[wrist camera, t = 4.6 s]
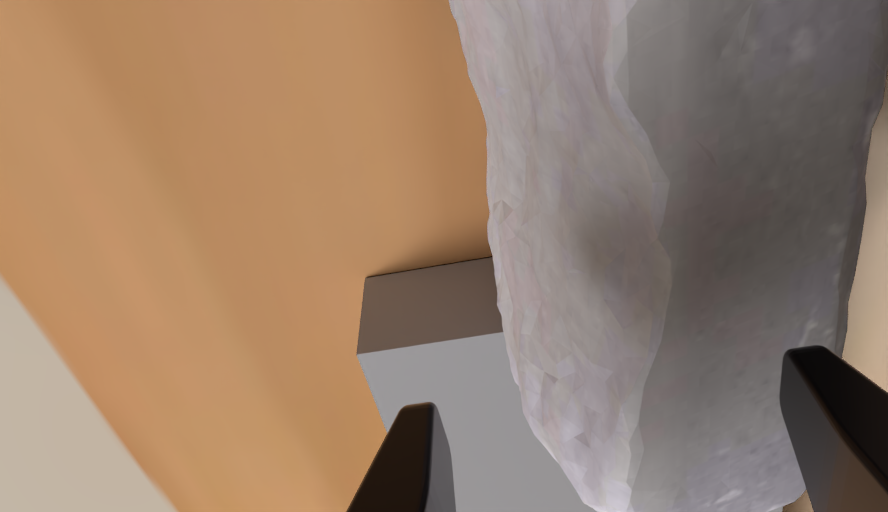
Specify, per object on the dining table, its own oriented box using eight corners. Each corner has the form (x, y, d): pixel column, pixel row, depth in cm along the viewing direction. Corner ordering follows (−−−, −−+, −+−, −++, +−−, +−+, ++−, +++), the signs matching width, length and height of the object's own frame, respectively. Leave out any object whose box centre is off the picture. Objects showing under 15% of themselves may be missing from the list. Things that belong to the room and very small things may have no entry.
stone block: (654, 226, 21) (847, 560, 13) (481, 261, 21) (568, 616, 13) (651, -307, 14) (1076, -279, 6) (388, -250, 14) (458, -147, 6)
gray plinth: (765, 211, 21) (807, 285, 18) (744, 539, 30) (770, 614, 28) (365, 278, 22) (356, 354, 20) (468, 572, 32) (470, 646, 29)
